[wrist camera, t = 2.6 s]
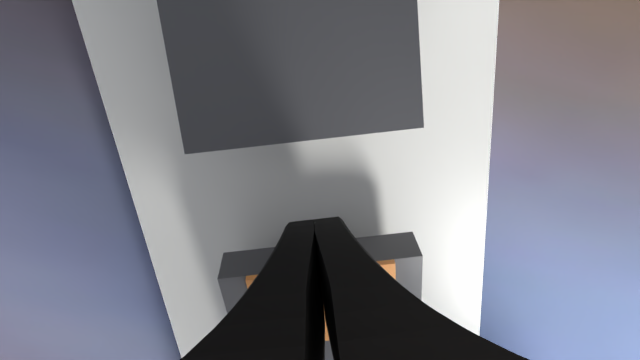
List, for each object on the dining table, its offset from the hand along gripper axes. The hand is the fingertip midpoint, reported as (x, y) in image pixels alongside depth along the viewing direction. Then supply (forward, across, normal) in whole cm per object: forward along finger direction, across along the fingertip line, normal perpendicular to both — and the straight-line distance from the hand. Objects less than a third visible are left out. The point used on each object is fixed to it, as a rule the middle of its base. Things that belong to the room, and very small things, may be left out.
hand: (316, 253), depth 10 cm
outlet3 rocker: (+1, 0, -6) cm, 6 cm away
